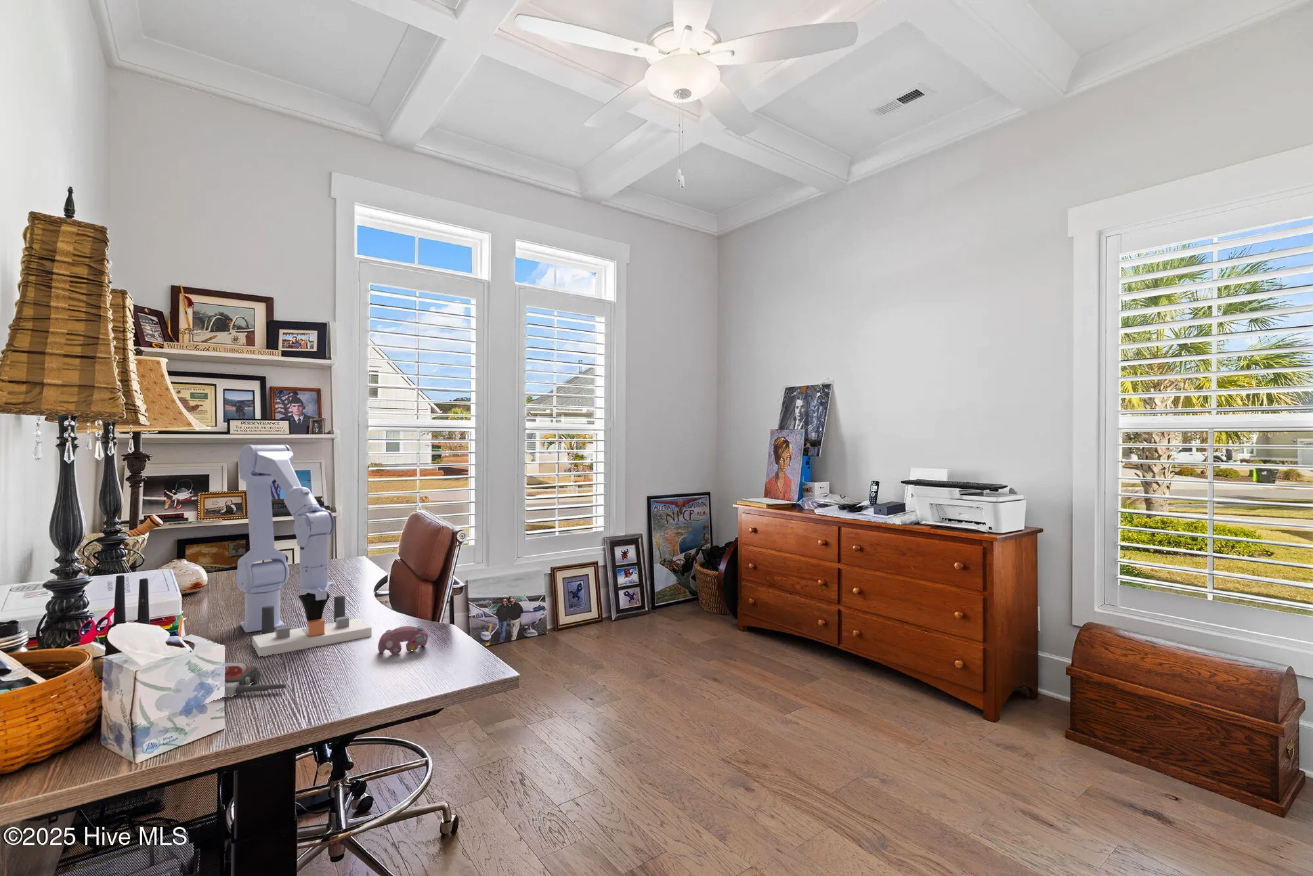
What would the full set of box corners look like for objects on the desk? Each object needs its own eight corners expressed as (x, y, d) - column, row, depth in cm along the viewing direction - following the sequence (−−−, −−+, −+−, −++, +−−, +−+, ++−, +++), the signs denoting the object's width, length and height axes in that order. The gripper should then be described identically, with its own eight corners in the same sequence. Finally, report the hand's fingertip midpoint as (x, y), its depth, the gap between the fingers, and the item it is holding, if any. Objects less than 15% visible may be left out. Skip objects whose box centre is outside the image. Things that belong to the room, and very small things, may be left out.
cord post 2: (332, 625, 153) (333, 596, 153) (343, 623, 155) (343, 595, 155) (335, 627, 151) (335, 598, 151) (346, 625, 153) (346, 596, 153)
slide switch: (307, 634, 139) (307, 621, 139) (322, 631, 141) (322, 618, 141) (309, 636, 138) (309, 622, 138) (324, 634, 140) (324, 620, 140)
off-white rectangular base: (252, 645, 138) (252, 627, 138) (359, 626, 152) (359, 609, 152) (259, 657, 130) (259, 637, 131) (371, 636, 145) (371, 618, 145)
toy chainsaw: (156, 704, 108) (282, 696, 111) (156, 678, 108) (282, 671, 111) (185, 685, 117) (302, 678, 120) (185, 661, 117) (302, 654, 120)
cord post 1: (260, 637, 144) (261, 606, 144) (273, 635, 145) (273, 605, 145) (262, 640, 142) (262, 609, 142) (274, 638, 143) (275, 607, 143)
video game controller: (378, 664, 131) (379, 638, 128) (376, 648, 134) (378, 623, 132) (428, 656, 135) (430, 631, 133) (425, 641, 139) (427, 617, 136)
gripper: (341, 568, 138) (341, 630, 138) (326, 558, 149) (326, 616, 149) (305, 572, 133) (305, 636, 133) (292, 562, 145) (292, 621, 144)
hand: (314, 626), depth 141 cm, fingers closed
